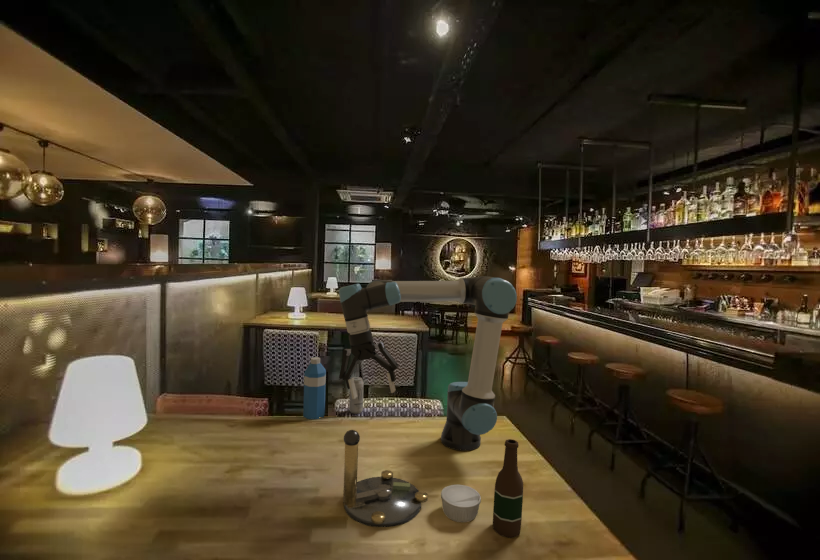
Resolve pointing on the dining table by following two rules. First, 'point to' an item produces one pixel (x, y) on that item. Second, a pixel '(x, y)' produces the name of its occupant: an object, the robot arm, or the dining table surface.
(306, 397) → the water bottle
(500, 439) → the dining table surface
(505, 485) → the beer bottle
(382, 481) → the plate
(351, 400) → the energy drink can
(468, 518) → the ramekin
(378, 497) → the ball topped crank handle
